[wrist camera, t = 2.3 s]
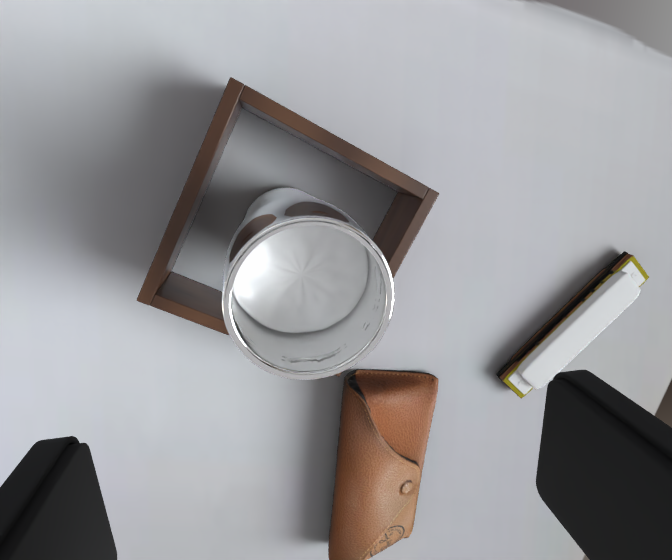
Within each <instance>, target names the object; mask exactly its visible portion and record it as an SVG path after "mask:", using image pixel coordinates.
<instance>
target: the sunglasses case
mask: <svg viewBox="0 0 672 560" xmlns="http://www.w3.org/2000/svg"><path fill="white" fill-rule="evenodd" d="M437 392H438V378H436V377H435V376H433V375H431V374H429V373H419V372H410V371H391V370H360V369H358V370H355V371H352V372H350V373H349V374H348V375H347V376H346V377H345V379H344V386H343V393H342V406H341V416H340V428H339V440H338V449H337V464H336V474H335V486H334V494H333V505H332V516H331V526H330V533H329V545H328V546H329V549H328V551H329V560H367V559H369V558H371V557H372V556H374V555H376V554H377V553H379V552H381V551H383V550H384V549H386V548H387V547H389V546H391V545H393V544H394V543H396V542H397V541H399V540H400V539H402V538H407V537H409V536H410V534H411V532H412V529H413V524H414V518H415V512H416V505H417V498H418V492H419V486H420V480H421V474H422V469H423V464H424V458H425V452H426V447H427V442H428V437H429V432H430V427H431V422H432V417H433V412H434V408H435V403H436V397H437Z"/></svg>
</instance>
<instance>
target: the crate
mask: <svg viewBox="0 0 672 560" xmlns="http://www.w3.org/2000/svg"><path fill="white" fill-rule="evenodd" d="M242 108H244V109H245V110H247V111H249V112H251V113H253V114H255V115H256V116H258V117H260V118H262V119H264V120H266V121H268V122H269V123H271V124H273V125H275V126H277V127H279V128H281V129H282V130H284V131H286V132H288V133H290V134H292V135H293V136H295V137H297V138H299V139H301V140H303V141H305V142H306V143H308V144H310V145H312V146H314V147H316V148H317V149H319V150H321V151H323V152H325V153H327V154H329V155H330V156H332V157H334V158H336V159H338V160H340V161H342V162H343V163H345V164H347V165H349V166H351V167H353V168H354V169H356V170H358V171H360V172H362V173H364V174H366V175H367V176H369V177H371V178H373V179H375V180H377V181H378V182H380V183H382V184H384V185H386V186H388V187H390V188H391V189H393V190H395V191H397V192H398V193H397V195H396V197H395V199H394V201H393V203H392V204H391V206H390V208H389V210H388V212H387V214H386V216H385V218H384V220H383V222H382V223H381V225H380V227H379V229H378V231H377V233H376V235H375V237H374V239H373V242H374V243H375V244H376V245H377V246H378V248H379V249H380V250H381V252H382V253H383V255H384V257H385V259H386V260H387V263H388V265H389V267H390V270H391V273H392V277H393V278H394V276H395V274H396V272H397V270H398V269H399V267H400V265H401V263H402V261H403V259H404V258H405V256H406V254H407V252H408V250H409V248H410V247H411V245H412V243H413V241H414V239H415V237H416V236H417V234H418V232H419V230H420V228H421V226H422V225H423V223H424V221H425V219H426V217H427V215H428V214H429V212H430V210H431V208H432V206H433V204H434V203H435V201H436V199H437V197H438V195H439V193H438V192H436V191H434V190H432V189H431V188H428V187H427V186H425V185H423V184H422V183H420V182H418V181H416V180H414V179H413V178H411V177H409V176H407V175H405V174H404V173H402V172H400V171H398V170H397V169H395V168H393V167H391V166H389V165H388V164H386V163H384V162H382V161H380V160H379V159H377V158H375V157H373V156H371V155H370V154H368V153H366V152H364V151H362V150H361V149H359V148H357V147H355V146H354V145H352V144H350V143H348V142H346V141H345V140H343V139H341V138H339V137H337V136H336V135H334V134H332V133H330V132H328V131H327V130H325V129H323V128H321V127H319V126H318V125H316V124H314V123H312V122H311V121H309V120H307V119H305V118H303V117H302V116H300V115H298V114H296V113H294V112H293V111H291V110H289V109H287V108H285V107H284V106H282V105H280V104H278V103H276V102H275V101H273V100H271V99H269V98H268V97H266V96H264V95H262V94H260V93H259V92H257V91H255V90H253V89H251V88H250V87H248V86H246V85H245V86H244V84H242V83H241V82H239V81H237V80H235V79H233V78H232V77H231V78H230V79H229V81H228V84H227V86H226V89H225V91H224V93H223V96H222V98H221V101H220V103H219V105H218V108H217V110H216V112H215V115H214V117H213V120H212V122H211V124H210V127H209V129H208V131H207V134H206V136H205V139H204V141H203V143H202V146H201V148H200V150H199V153H198V155H197V158H196V160H195V162H194V165H193V167H192V169H191V172H190V174H189V177H188V179H187V181H186V184H185V186H184V188H183V191H182V193H181V196H180V198H179V200H178V203H177V205H176V207H175V210H174V212H173V215H172V217H171V219H170V222H169V224H168V227H167V229H166V231H165V234H164V236H163V238H162V241H161V243H160V246H159V248H158V250H157V253H156V255H155V257H154V260H153V262H152V265H151V267H150V269H149V272H148V274H147V276H146V279H145V281H144V284H143V286H142V288H141V291H140V293H139V295H138V298H137V301H139V302H142V303H144V304H147V305H151V306H153V307H155V308H158V309H161V310H163V311H166V312H168V313H171V314H174V315H176V316H179V317H182V318H184V319H187V320H190V321H192V322H195V323H198V324H200V325H203V326H206V327H208V328H211V329H214V330H216V331H219V332H222V333H224V334H227V335H229V333H228V330H227V328H226V325H225V321H224V317H223V311H222V292H221V291H218V290H216V289H213V288H211V287H208V286H206V285H203V284H201V283H198V282H196V281H193V280H191V279H189V278H186V277H184V276H181V275H179V274H176V273H174V272H171V271H172V269H173V266H174V264H175V262H176V259H177V257H178V255H179V252H180V250H181V248H182V245H183V243H184V241H185V239H186V236H187V234H188V232H189V229H190V227H191V225H192V222H193V220H194V218H195V215H196V213H197V211H198V208H199V206H200V204H201V201H202V199H203V197H204V195H205V192H206V190H207V188H208V185H209V183H210V181H211V178H212V176H213V174H214V171H215V169H216V167H217V164H218V162H219V160H220V158H221V155H222V153H223V151H224V148H225V146H226V144H227V141H228V139H229V137H230V134H231V132H232V130H233V127H234V125H235V123H236V120H237V118H238V116H239V114H240V111H241V109H242ZM341 373H342V372H341ZM341 373H338V374H335V375H336V376H338V377H339V376H340V375H341Z"/></svg>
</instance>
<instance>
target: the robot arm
mask: <svg viewBox="0 0 672 560" xmlns="http://www.w3.org/2000/svg"><path fill="white" fill-rule="evenodd" d="M536 486H537V490H538V493H539V495H540V497H541V498H542V500H543V501H544V502H545V504H546V505H547V506H548V508H549V509H550V510H551V511H552V513H553V514H554V515H555V516H556V518H557V519H558V520H559V521H560V523H561V524H562V525H563V526H564V528H565V529H566V530H567V532H568V533H569V534H570V535H571V537H572V538H573V539H574V540H575V542H576V543H577V544H578V545H579V547H580V548H581V549H582V551H583V552H584V553H585V554H586V556H587V557H588V558H589V559H590V560H672V428H671V427H670V426H668V425H667V424H665V423H664V422H662V421H661V420H659V419H658V418H657V417H655V416H654V415H652V414H651V413H649V412H648V411H646V410H645V409H643V408H642V407H641V406H639V405H638V404H636V403H635V402H633V401H632V400H630V399H629V398H627V397H626V396H624V395H623V394H622V393H620V392H619V391H617V390H616V389H614V388H613V387H611V386H610V385H608V384H607V383H606V382H604V381H603V380H601V379H600V378H598V377H597V376H595V375H594V374H592V373H591V372H589V371H587V370H576V371H568V372H560V373H558V374H556V375H555V377H554V378H553V380H552V381H550V382H549V384H548V387H547V395H546V403H545V411H544V419H543V427H542V435H541V444H540V452H539V460H538V468H537V476H536ZM0 560H117V551H116V547H115V543H114V539H113V535H112V532H111V528H110V524H109V520H108V517H107V513H106V509H105V505H104V501H103V498H102V494H101V490H100V486H99V482H98V479H97V475H96V471H95V467H94V464H93V460H92V456H91V452H90V449H89V446H88V445H87V444H86V443H79V441H78V439H77V438H76V437H73V436H70V437H63V438H55V439H47V440H41V441H38V442H36V443H35V444H34V445H33V446H32V448H31V449H30V450H29V451H28V453H27V454H26V455H25V456H24V458H23V459H22V460H21V462H20V463H19V464H18V465H17V467H16V468H15V469H14V471H13V472H12V473H11V474H10V476H9V477H8V478H7V479H6V481H5V482H4V483H3V485H2V486H1V487H0Z"/></svg>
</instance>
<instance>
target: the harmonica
mask: <svg viewBox="0 0 672 560" xmlns="http://www.w3.org/2000/svg"><path fill="white" fill-rule="evenodd" d="M648 278H649V276H648V275H647V274H646V272H645V271H644V270H643V268H642V267H641V265H640V264H639V263H638V261H637V260H636V259H635V257H634V256H633V255H630V254H628V253H627V252H623V253H622V254H621V255H620V256H619V257H618V258H617V259H616V260H615V261H614V262H612V263H611V264H610V265H609V266H608V267H607V268H605V269H603V270H602V271H601V272H600V273H599V274H598V275H596V276H595V277H594V278H593V279H592V280H591V281H590V282H589V283H588V284H587V285H586V286H585V287H584V288H583V289H582V290H581V291H580V292H579V293H578V294H577V295H576V296H575V297H574V298H573V299H572V300H570V301H569V302H568V303H567V304H566V305H565V306H564V307H563V308H562V309H561V310H560V311H559V312H558V313H557V314H556V315H555V316H554V317H553V318H552V319H551V320H550V321H549V322H548V323H547V324H546V325H545V326H544V327H543V328H541V329H540V330H539V331H538V332H537V333H536V334H535V335H534V336H533V337H532V338H531V339H530V340H529V341H528V342H527V343H526V344H525V345H524V346H523V347H522V348H521V349H520V350H519V351H518V352H517V353H516V354H515V355H514V356H513V357H512V358H511V361H510V362H509V363H508V364H507V365H506V366H505V367H504V368H503V369H502V370H501V371H500V372H499V373H498V374H497V376H498V377H499V378H500V379H501V380H502V381H503V382H504V383H505V384H506V385H507V386H508V387H509V388H510V389H512V390H513V391H514V392H515V393H516V394H517V395H518V396H519V397H520V398H522V397H524V396H525V395H526V394H527V393H528V392H530V391H531V390H532V389H533V388H534V389H540V388H541V387H543V386H544V385H545V384H547V383H548V382H549V381H550V380H551V379H552V378H553V377H554V376H555V375H556V374H557V373H559V372H560V371H561V370H562V369H563V368H564V367H565V366H566V365H567V364H568V363H569V362H570V361H571V360H572V359H573V358H574V357H575V356H577V355H578V354H579V353H580V352H581V351H582V350H583V349H584V348H585V347H586V346H587V345H588V344H589V343H590V342H591V341H592V340H593V339H594V338H596V337H597V336H598V335H599V334H600V333H601V332H602V331H603V330H604V329H605V328H606V327H607V326H608V325H609V324H610V323H611V322H612V321H613V320H615V319H616V318H617V317H618V316H619V315H620V314H621V313H622V312H623V311H624V310H625V309H626V308H627V307H628V306H629V305H630V304H631V303H632V302H633V301H634V300H635V299H636V298H637V297H638V295H639V294H640V292H641V290H640V288H639V287H640V286H641V285H642V284H643V283H644V282H645V281H646V280H647V279H648Z"/></svg>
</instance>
